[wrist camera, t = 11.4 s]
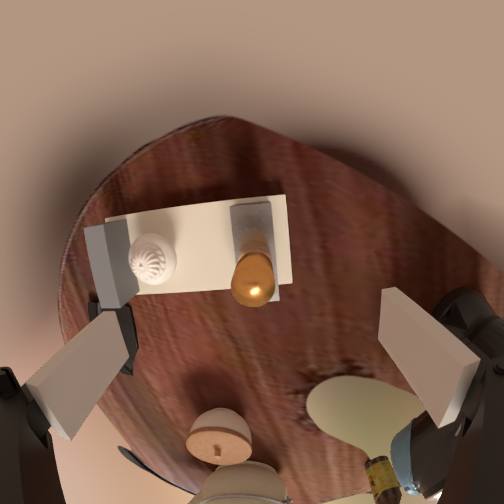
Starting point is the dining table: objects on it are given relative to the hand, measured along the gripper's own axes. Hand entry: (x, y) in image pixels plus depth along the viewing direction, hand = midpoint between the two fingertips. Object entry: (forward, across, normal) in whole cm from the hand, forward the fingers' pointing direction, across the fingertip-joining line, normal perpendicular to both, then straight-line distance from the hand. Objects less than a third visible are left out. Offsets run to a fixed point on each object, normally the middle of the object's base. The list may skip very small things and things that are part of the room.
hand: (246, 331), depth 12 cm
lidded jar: (+24, +9, +32) cm, 41 cm away
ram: (+21, 0, 0) cm, 21 cm away
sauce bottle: (+24, -24, +57) cm, 66 cm away
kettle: (+24, +9, +54) cm, 59 cm away
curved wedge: (+24, +24, +13) cm, 37 cm away
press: (+24, +8, 0) cm, 25 cm away
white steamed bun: (+22, +12, 0) cm, 25 cm away
